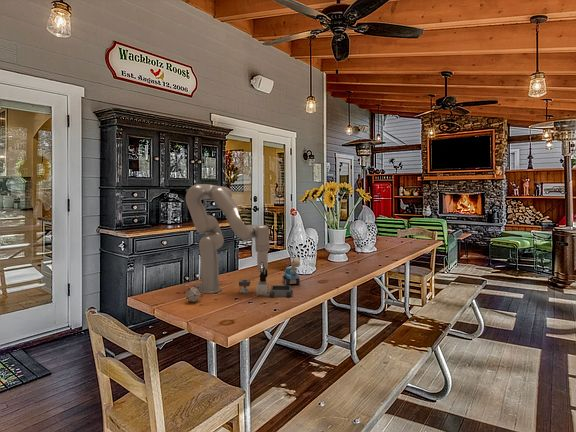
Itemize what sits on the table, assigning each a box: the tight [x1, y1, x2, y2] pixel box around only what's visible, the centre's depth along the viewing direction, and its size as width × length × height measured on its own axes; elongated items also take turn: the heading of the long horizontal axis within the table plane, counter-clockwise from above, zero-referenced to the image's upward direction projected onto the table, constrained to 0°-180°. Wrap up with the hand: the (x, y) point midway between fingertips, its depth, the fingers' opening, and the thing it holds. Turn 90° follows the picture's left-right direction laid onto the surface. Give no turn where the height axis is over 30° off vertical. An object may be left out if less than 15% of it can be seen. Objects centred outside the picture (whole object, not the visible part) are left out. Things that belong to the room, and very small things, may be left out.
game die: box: [183, 285, 203, 304], centre depth 191 cm, size 9×8×10 cm
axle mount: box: [240, 286, 250, 295], centre depth 207 cm, size 5×5×4 cm
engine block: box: [255, 280, 269, 296], centre depth 205 cm, size 6×5×6 cm
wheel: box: [238, 279, 251, 287], centre depth 207 cm, size 6×6×2 cm
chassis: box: [267, 284, 294, 298], centre depth 205 cm, size 13×13×3 cm
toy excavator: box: [281, 257, 301, 285], centre depth 222 cm, size 9×17×17 cm, turn 15°
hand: (263, 279), depth 204 cm, fingers open, 9 cm apart
